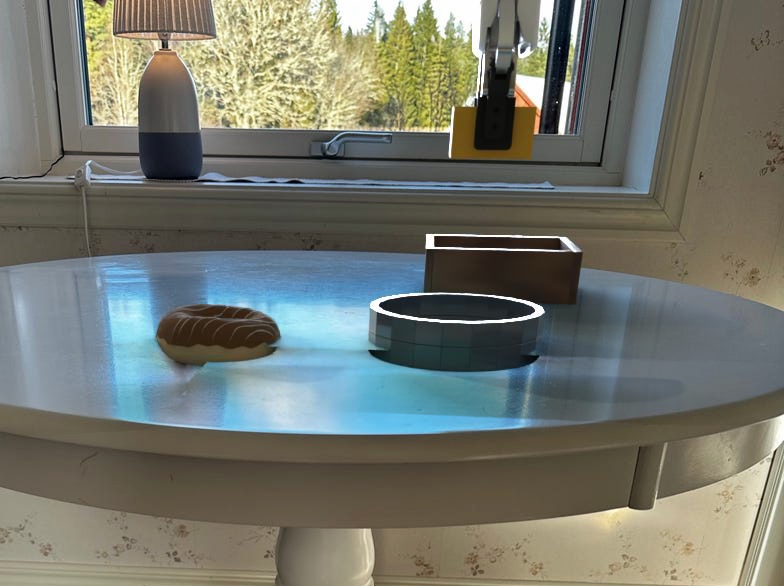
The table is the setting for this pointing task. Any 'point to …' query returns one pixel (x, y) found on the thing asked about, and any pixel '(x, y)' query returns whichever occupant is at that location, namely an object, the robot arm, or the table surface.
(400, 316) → the bowl
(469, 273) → the box
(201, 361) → the donut
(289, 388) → the table surface
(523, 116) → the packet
